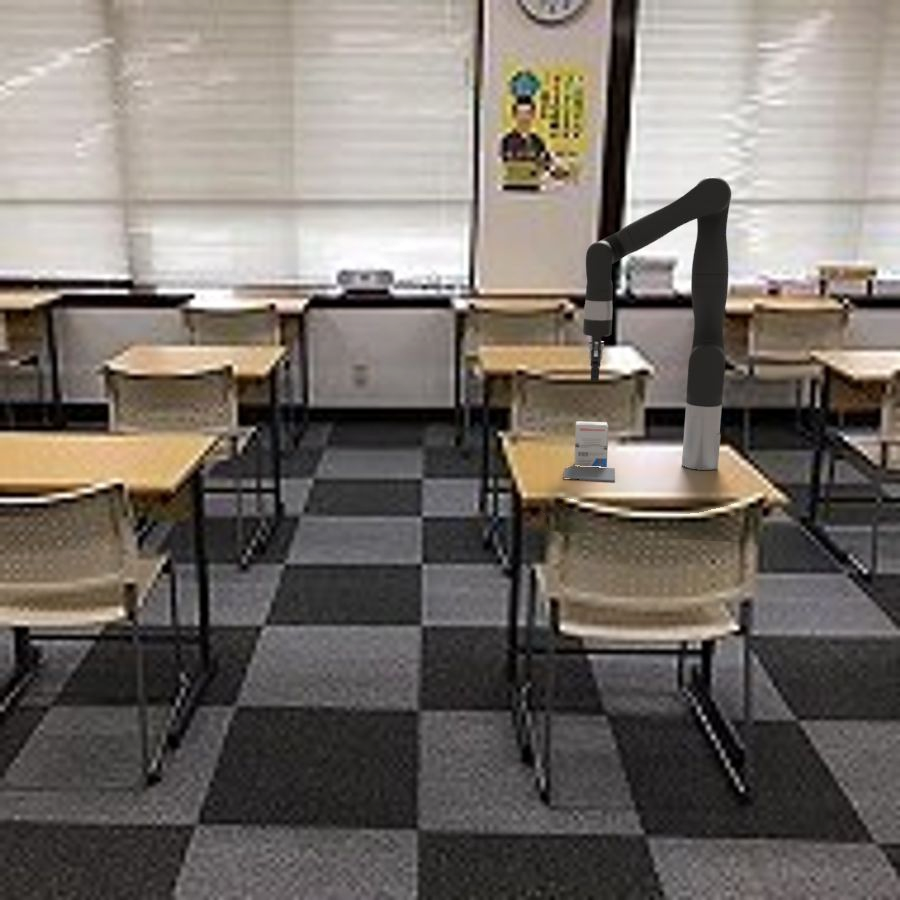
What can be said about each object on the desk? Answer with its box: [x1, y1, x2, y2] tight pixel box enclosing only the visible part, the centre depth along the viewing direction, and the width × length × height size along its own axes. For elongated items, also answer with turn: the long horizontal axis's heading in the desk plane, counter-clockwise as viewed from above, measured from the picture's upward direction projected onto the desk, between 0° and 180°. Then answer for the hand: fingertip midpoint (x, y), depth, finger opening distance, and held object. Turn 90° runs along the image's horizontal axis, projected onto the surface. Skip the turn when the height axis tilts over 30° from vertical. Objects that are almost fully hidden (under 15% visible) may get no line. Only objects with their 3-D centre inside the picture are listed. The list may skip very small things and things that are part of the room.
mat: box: [562, 465, 616, 483], centre depth 271 cm, size 13×12×1 cm
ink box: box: [574, 420, 609, 468], centre depth 279 cm, size 9×5×12 cm, turn 84°
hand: (594, 380), depth 284 cm, fingers closed
